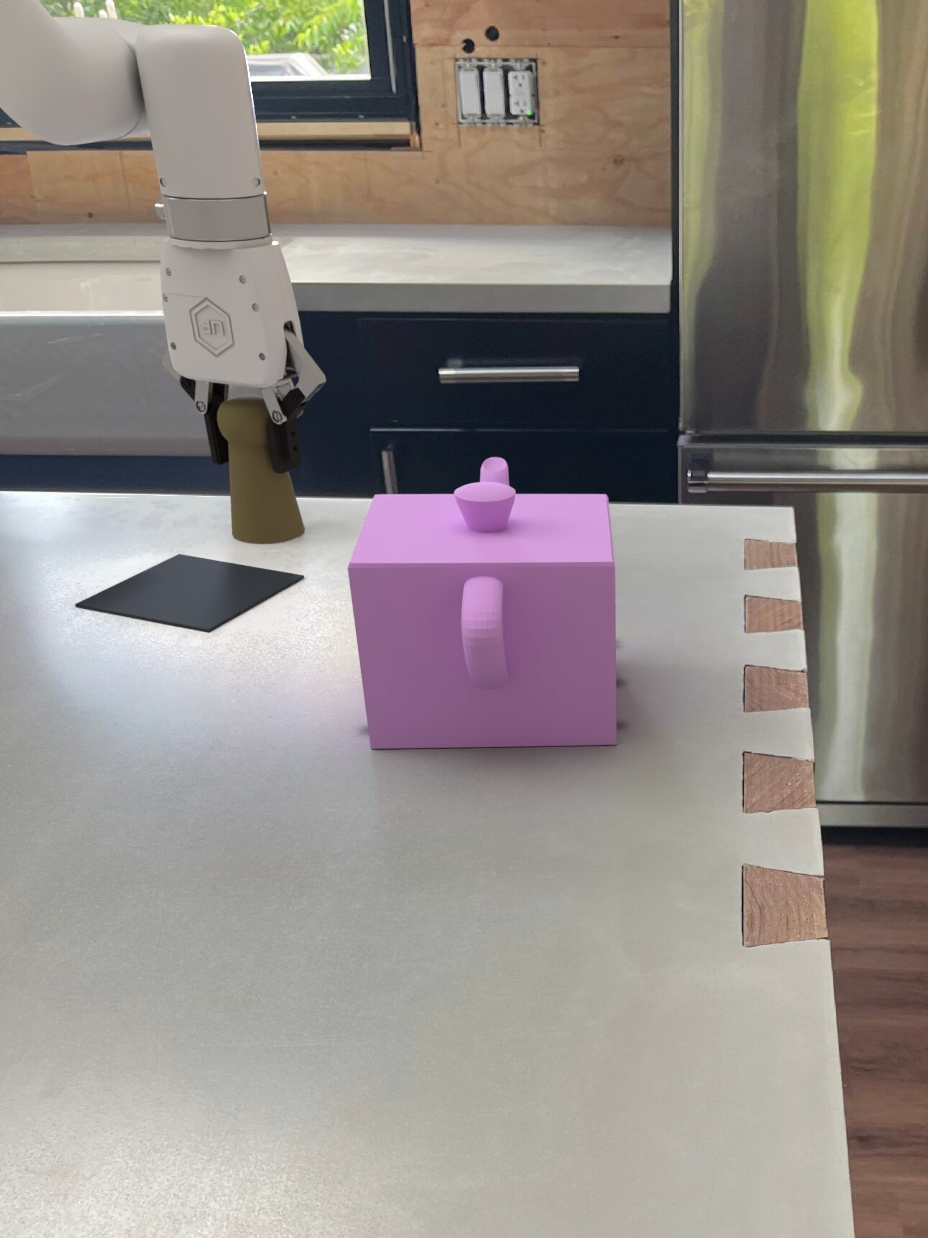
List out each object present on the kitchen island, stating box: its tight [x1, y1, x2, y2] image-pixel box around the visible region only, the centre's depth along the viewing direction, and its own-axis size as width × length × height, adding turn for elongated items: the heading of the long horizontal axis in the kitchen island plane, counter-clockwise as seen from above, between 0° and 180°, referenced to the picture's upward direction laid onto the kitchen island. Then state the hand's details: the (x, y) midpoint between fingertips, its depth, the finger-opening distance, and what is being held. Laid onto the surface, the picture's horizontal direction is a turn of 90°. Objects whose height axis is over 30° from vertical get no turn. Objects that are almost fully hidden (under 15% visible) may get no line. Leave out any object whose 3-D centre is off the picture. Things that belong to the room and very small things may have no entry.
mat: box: [74, 553, 305, 633], centre depth 101 cm, size 12×12×1 cm
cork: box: [217, 394, 306, 545], centre depth 110 cm, size 6×6×11 cm
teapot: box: [347, 456, 618, 750], centre depth 84 cm, size 15×25×14 cm, turn 5°
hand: (257, 462), depth 110 cm, fingers closed on cork, 5 cm apart
